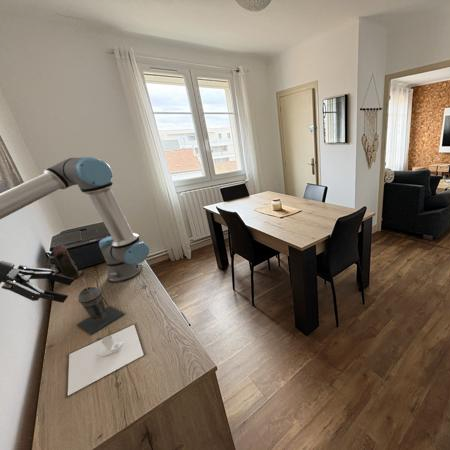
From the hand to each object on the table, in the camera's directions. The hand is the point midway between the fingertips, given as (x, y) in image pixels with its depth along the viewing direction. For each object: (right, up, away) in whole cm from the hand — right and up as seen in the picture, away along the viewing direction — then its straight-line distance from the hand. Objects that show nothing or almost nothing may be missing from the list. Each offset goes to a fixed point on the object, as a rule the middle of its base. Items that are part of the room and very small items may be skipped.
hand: (69, 290), depth 93 cm
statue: (-39, -5, +43) cm, 58 cm away
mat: (+5, -15, +9) cm, 18 cm away
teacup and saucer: (+21, -21, -8) cm, 31 cm away
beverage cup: (+5, -15, +9) cm, 18 cm away
